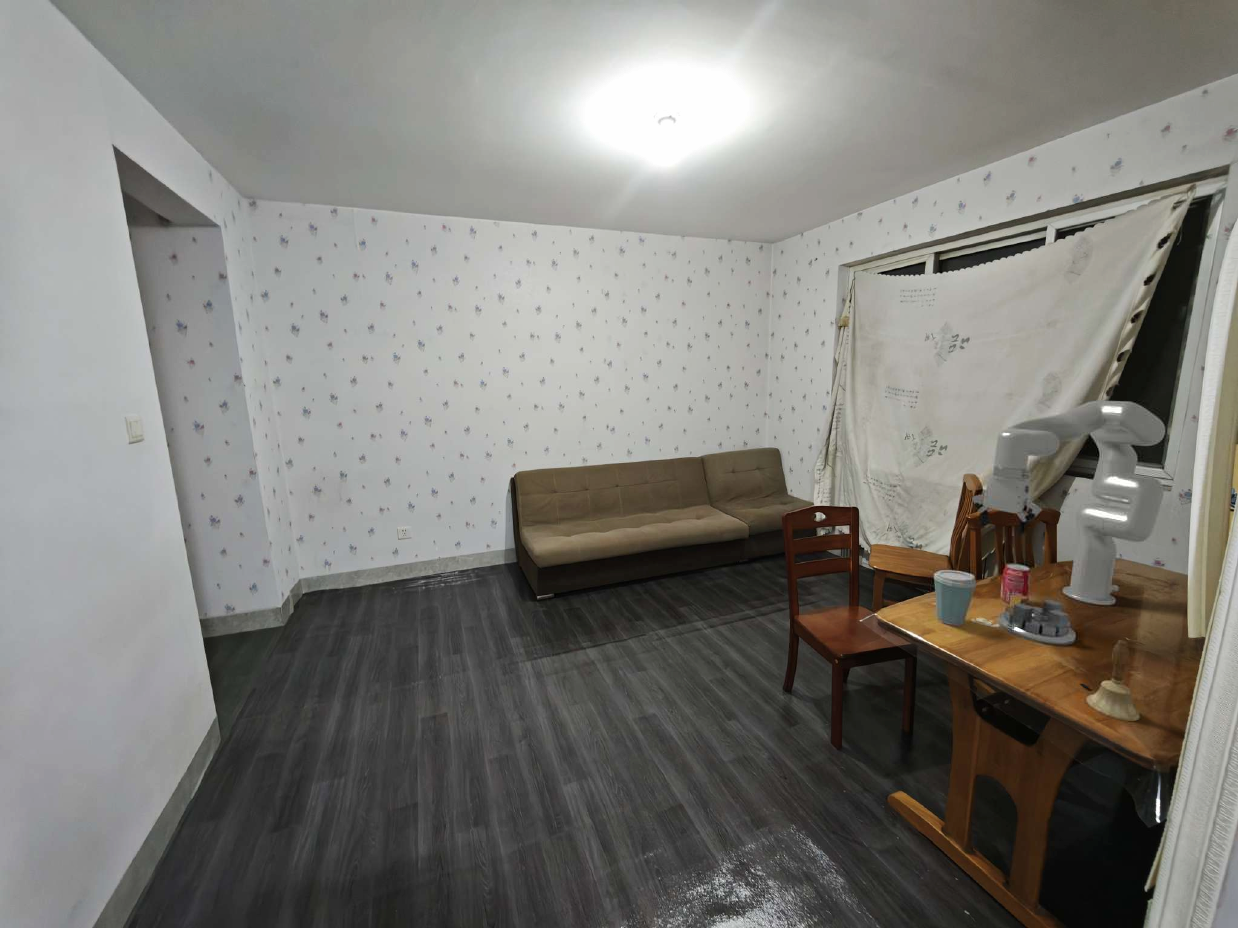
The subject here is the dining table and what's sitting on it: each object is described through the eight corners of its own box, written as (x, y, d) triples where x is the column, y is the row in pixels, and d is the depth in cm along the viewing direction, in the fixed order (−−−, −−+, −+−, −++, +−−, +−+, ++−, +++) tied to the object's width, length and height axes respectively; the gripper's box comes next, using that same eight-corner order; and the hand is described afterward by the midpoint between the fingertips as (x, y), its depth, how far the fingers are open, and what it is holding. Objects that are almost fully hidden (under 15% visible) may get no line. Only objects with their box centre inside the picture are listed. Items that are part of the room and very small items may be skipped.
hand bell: (1128, 725, 101) (1141, 655, 98) (1078, 702, 108) (1088, 636, 106) (1147, 714, 104) (1160, 646, 102) (1097, 692, 112) (1108, 628, 109)
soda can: (1017, 597, 161) (1021, 563, 159) (1033, 606, 154) (1038, 571, 152) (994, 596, 162) (998, 562, 160) (1009, 606, 155) (1013, 570, 153)
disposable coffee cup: (925, 621, 146) (930, 574, 143) (933, 609, 153) (937, 564, 151) (968, 633, 138) (974, 583, 136) (974, 619, 146) (979, 572, 144)
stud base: (1028, 613, 150) (1030, 597, 149) (1091, 641, 134) (1094, 624, 133) (983, 619, 147) (985, 603, 146) (1042, 648, 130) (1044, 631, 129)
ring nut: (1030, 610, 148) (1032, 591, 147) (1082, 633, 135) (1085, 612, 134) (992, 615, 145) (995, 596, 144) (1041, 638, 132) (1044, 618, 131)
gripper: (1051, 477, 136) (1043, 535, 139) (983, 467, 151) (976, 520, 154) (1038, 479, 133) (1030, 539, 136) (969, 469, 148) (963, 523, 151)
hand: (1001, 529), depth 145 cm, fingers open, 9 cm apart
